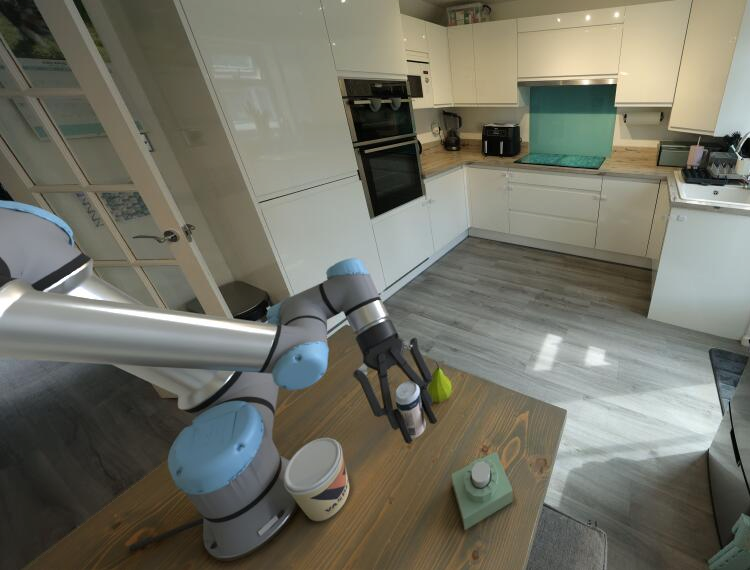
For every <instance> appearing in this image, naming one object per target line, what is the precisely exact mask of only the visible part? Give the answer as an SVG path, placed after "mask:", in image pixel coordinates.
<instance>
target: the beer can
mask: <svg viewBox="0 0 750 570" xmlns="http://www.w3.org/2000/svg"><path fill="white" fill-rule="evenodd" d="M394 400H395V401H394V402H395V404H396V409H398V410H399V412H400V415H401V417H402V419H403V421H404V423H405V426H406V428H407V430H408V432H409V434H410V437H411V439H412V440H413V439H416V438H418V437H420V436H421V435H422V434H423V433H424V431H425V430H426V425H427V422H426V419H425V412H424V409H423V407H422V402H421V397H420V389H419V386H418V385H417V384H415V383H413V382H412V381H411V380H410V381H405V382H402V383H401V384H399V386H398V387H397V389H396V391H395V393H394Z"/></svg>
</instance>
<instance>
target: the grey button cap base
mask: <svg viewBox="0 0 750 570" xmlns="http://www.w3.org/2000/svg"><path fill="white" fill-rule="evenodd" d="M478 462H485V463H487V464H488V466H489V468H490V481H489V483H488V484H487V486H485V487H484V488H477V487H475V486H474V485H473V483H472V476H471V471H472V468H473V466H474V465H475V464H476V463H478ZM506 473H507V472H506V471H505V468H504V467H503V464H502V461H501V459H500V457H499V454H498V451H494V452H491V453H489V454H488V455H486V456H484V457H479V458H477V459H475V460H473V461H470V463H469V464H468V465H466V466H464V467H463V468H461V469H459V470H457V471H455V472H453V473H451V474H450V477H451V485H452V488H453V492H454V496H455V499H456V504H457V507H458V511H459V514H460V518H461V521H462V526H463V530H464V531H466V530H468V529H469V528H471V527H472V526H474V525H476V524H478V523H479V522H481V521H483V520H484V519H486V518H487V517H489V516H491V515H493V514H494V513H496V512H497V511H499V510H501V509H503V508H504V507H507V506H508V505H509V504H511V503H513V499H514V498H513V497H514V491H513V488H512V485H511V482H510V481H509V478H508V475H507V474H506Z"/></svg>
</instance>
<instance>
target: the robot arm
mask: <svg viewBox="0 0 750 570" xmlns="http://www.w3.org/2000/svg"><path fill="white" fill-rule="evenodd" d="M73 236H74V232H73V229H71V227H70V226H69V224H68V223H67V222H65V221H64V220H63V219H62V218H60V217H59V216H57V215H56V214H54V213H52V212H50V211H48V210H46V209H43V208H41V207H38V206H35V205H31V204H27V203H23V202H18V201H13V200H3V199H2V200H1V199H0V359H5V360H6V359H8V360H25V361H27V360H28V361H42V362H43V361H45V362H61V363H62V362H63V363H79V364H95V365H96V364H98V365H111V366H114V367H116V368H118V369H120V370H123V371H125V372H127V373H129V374H131V375H134V376H135V377H137V378H139V379H142V380H144V381H145V382H148V383H149V384H150V383H151V384H152V385H155V386H157V387H159V388H161V389H163V390H165V391H167V392H170V393H172V394H174V395H176V396H178V397H177V408H178V409H179V410H181V411H184V412H186V413H188V414H190V415H193V416H195V417H194V418H193V419H192V421H191V423H192V424H191V425H189V426H185V427H184V428H183V429H182V430H181V431H180V433H179V434H178V435H177V437H176V438H175V440H174V441H173V443H172V445H171V447H170V450H169V452H168V455H167V456H168V457H167V468H168V471H169V473H170V475H171V479H172V481H173V483H174V484H175V486H176V487H177V488H178V489H179V490H180V491H182V492H183V494H184V495H185V496H186V497H187V498H188V500H189V501H190V502H191V504H192V505H193V506H194V507H195V508H196V509H197V511H198V512H199V513H200V515H201V516H202V517H201V518H198V519H196V520H194V521H191V522H188V523H185V524H183V525H181V526H177V527H176V528H173V529H170V530H168V531H166V532H163V533H161V534H158V535H155V536H153V537H149V538H147V539H144V540H141V541H137V542H134V543H132V544H130V546H129V551H133V550H137V549H140V548H143V547H146V546H148V545H151V544H154V543H156V542H159V541H161V540H164V539H167V538H169V537H172V536H174V535H176V534H179V533H181V532H183V531H187V530H189V529H191V528H194V527H197V526H200V525H202V539H203V540H202V541H203V545H204V547H205V549H206V551H207V552H208V553H209V555H210V556H211V557H212V558H214V559H216V560H217V561H221V562H234V561H237V560H241V559H243V558H246V557H249V556H252V555H253V554H254V553H257V552H258V551H260V550H261V549H263V548H264V547H265V546H266V545H268V544H269V543H270V542H272V541H273V540H274V539H275V538H276V537H277V536H278V535H280V533H281V532H282V531H283V530H284V528H285V527H286V526H287V525H288V524H289V523H290V521H291V520H292V518H293V517H294V515H295V514H296V512H297V510H298V508H299V507H300V506H299V505H298V503H297V502H296V500H295V499H294V498H293V496H292V495H291V493H289V492H288V491H287V490H286V488H285V486H284V474H285V471H286V468H287V465H288V463H289V462H290V460H291V459H288V458H285V457H283V456H282V455H280V453H279V450H278V449H277V446H276V445H275V443H274V440H273V430H274V422H275V415H276V408H277V402H278V397H279V396H278V395H279V389H280V388H282V389H283V390H285V391H298V390H302V389H306V388H309V387H311V386H312V385H314V384H316V383H317V382H318V381H319V380H321V379H322V377H323V376H324V374H325V373H326V371H327V368H328V360H329V352H330V349H329V346H328V320H329V319H332V318H334V317H335V316H337V315H340V314H341V313H343V314H344V316H345V318H346V320H347V323H348V325H349V327H350V329H351V332H352V334H353V335H356V336H355V340H356V343H357V345H358V348H359V350H360V352H361V354H362V358H363V359H362V364H361V365H360V366H359V367H358V368H357V369H356V370H354V371H353V372H352V377H353V378H354V379H356V380H357V382H358V383H359V384H360V386H361V389H362V391H363V393H364V396H365V398H366V399H367V402H368V404H369V407H370V409H371V411H372V414H373V416H374V417H377V418H381V417H384V416H386V418H387V420H388V422H389V424H390V426H391V429H393V430H394V431H397V430H399V432H400V433H401V435H402V438H403V440H404V443H406V444H408V445H409V444H411V443H412V442H413V439H411V437H410V434H409V432H408V430H407V428H406V426H405V423H404V421H403V419H402V417H401V415H400V412H399V410H398V409H397V408H394V405H393V401H392V394H391V389H390V384H389V377H388V370H390V369H391V368H392V367H394V366H396V367H398V368H399V369H400V370H401V371H402V372H403V374H404V375H405V376H406V377H407V378H408V379H409V380H410V382H411V381H412V382H413V383H415V384H417V385H418V386H419V389H420V397H421V402H422V408H423V413H424V415H425V416H426V418H427V420H428V422H429V424H431V425H435V424H436V423H437V422H438V420H437V417H436V416H435V413H434V412H433V409H432V407H431V405H432V404H433V403H434V402H433V400H432V398H431V396H430V393H429V391H428V387H429V384H430V382H431V381H432V380H433V378H432V373H431V371H430V369H429V367H428V365H427V363H426V362H425V359H424V357H423V355H422V353H421V351H420V349H419V345H418V344H419V343H418V339H417V337H412V338H411V339H406V340H404V339H403V338H402V337H400V335H399V334H398V331H397V330H396V327H395V324H394V323H393V320H392V319H388V318H390V315H389V312H388V311H387V308H386V306H385V305H384V303H383V300H382V298H381V296H380V294H379V292H378V289H377V288H376V285H375V283H374V280H373V279H372V276H371V274H370V273H369V271H368V269H367V268H366V265H365V264H364V262H363V261H362V260H361V259H359V258H356V257H352V258H346V259H343V260H340V261H338V262H336V263H334V264H333V265H331V266H330V267H328V268H327V270H326V272H325V274H326V280H324V281H322V282H321V283H318V284H316V285H315V286H311V287H309V288H308V289H305V290H302V291H300V292H298V293H296V294H293V295H292V296H288V297H286V298H285V299H283V300H281V301H280V302H278V303H276V304H274V305H272V306H271V307H270V308H268V310H267V311H266V319H267V322H261V321H254V320H246V319H240V318H234V317H233V318H232V317H227V316H219V315H211V314H204V313H197V312H196V313H195V312H190V311H183V310H177V309H170V308H162V307H156V306H155V307H154V306H148V305H146V304H144V303H142V302H141V301H139V300H137V299H136V298H134V297H132V296H131V295H129V294H127V293H125V292H124V291H122V290H120V289H119V288H118V287H116V286H114V285H112V284H111V283H109V282H107V281H106V280H104V279H103V278H102V277H101V278H100V277H99V276H97V275H96V274H95V273H94V271H93V269H94V259H93V258H91V257H90V256H88V255H87V254H85V253H84V252H82V251H80V250H79V249H78V248H76V247H74V245H75V239H74V237H73ZM405 347H406V350H408V351H409V353H410V356H411V357H412V359H413V361H414V364H415V366H416V367H417V370H418V372H419V374H420V376H421V377H422V378H421V377H420V376H419V375H418V373H416V371H415V370H414V369H413V368H412V366H411V365H410V364H409V363H408V362H407V360H406V359H405V357H404V356H403V355H404V354H403V353H404V348H405ZM367 368H369V369H372V370H374V371H376V373H377V378H378V381H379V387H380V393H381V399H382V405H383V407H381V404H380V402H379V400H378V398H377V396H376V394H375V391H374V389H373V386H372V384H371V383H370V379H369V378H368V377H367V375H368V370H367Z"/></svg>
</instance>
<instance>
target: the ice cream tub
mask: <svg viewBox="0 0 750 570" xmlns="http://www.w3.org/2000/svg"><path fill="white" fill-rule="evenodd" d="M289 460H290V462H289V463H288V465H287V468H286V471H285V474H284V486H285V488H286V490H287V491H288V492H289V493H291V495H292V496H293V498H294V499H295V500H296V502H297V503H298V505H299V507H300V508H301V510H302V512H304V514H305V516H306V517H308V518H309V519H310V520H312V521H313V522H322V521H327V520H328V519H329V518H331V517H333V516H334V515H336V514H337V512H339V511H340V510H341V509H342V508H343V505H345V503H346V501H347V498H348V496H349V494H350V493H349V491H350V482H349V476H348V472H347V467H346V464H345V459H344V455H343V448H342V445H341V444H340V443H339V441H338V440H336V439H334V438H330V437H320V438H316V439H314V440H312V441H310V442H308V443H306V444H305V445H303V446H302V447H301V448H299V449H298V450H297V451H296V452H295V454H293V456H292V457H291V459H289Z"/></svg>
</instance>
